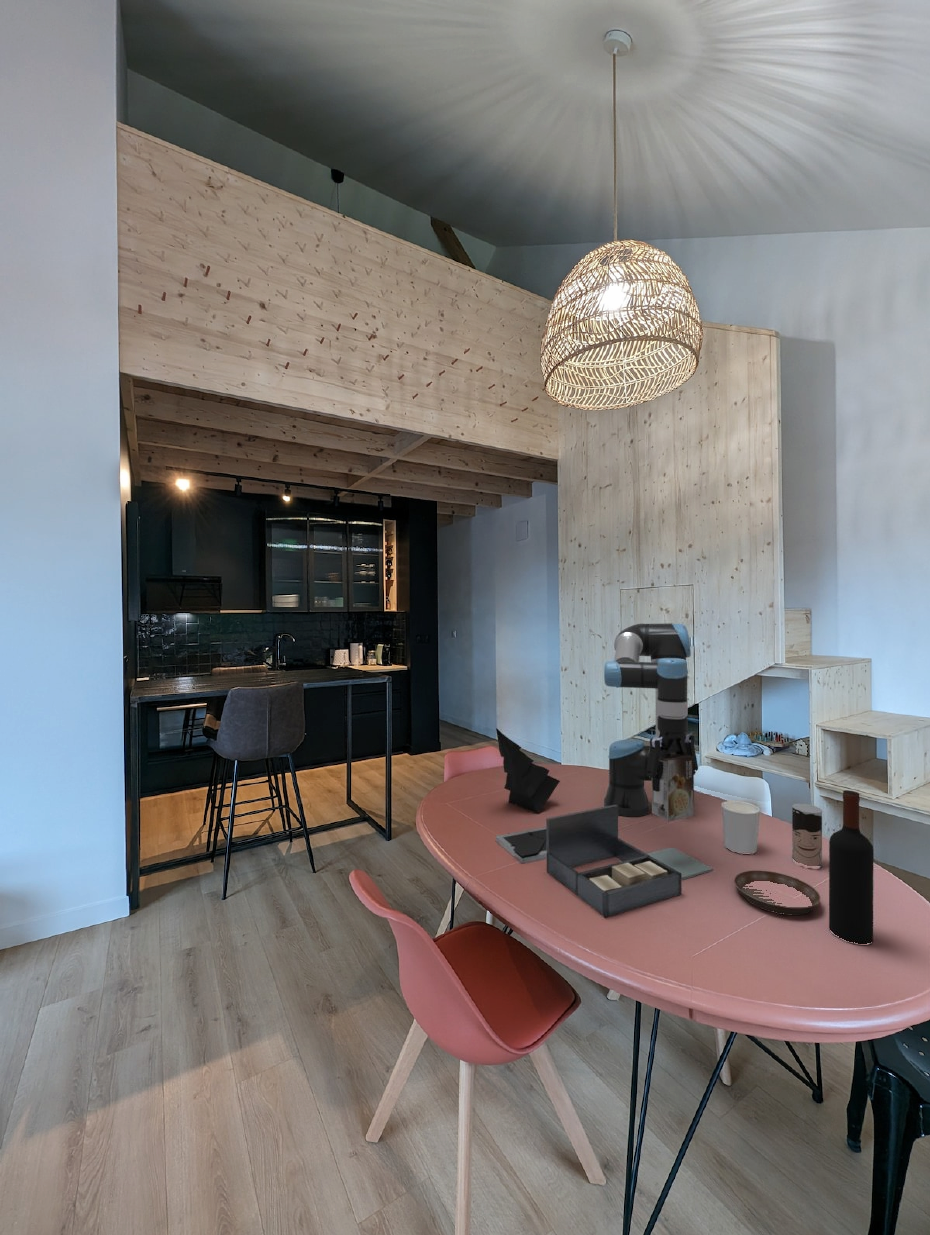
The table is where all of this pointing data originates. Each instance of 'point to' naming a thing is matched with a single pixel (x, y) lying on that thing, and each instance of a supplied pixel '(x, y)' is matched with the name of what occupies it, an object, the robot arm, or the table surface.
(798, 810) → the cup
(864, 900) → the wine bottle
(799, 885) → the plant saucer
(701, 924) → the table surface
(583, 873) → the open divided box
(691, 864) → the pad
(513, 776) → the decorative tree
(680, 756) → the coffee box
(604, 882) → the offcut
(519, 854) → the picture frame
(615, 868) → the block
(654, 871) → the offcut
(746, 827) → the candle holder
